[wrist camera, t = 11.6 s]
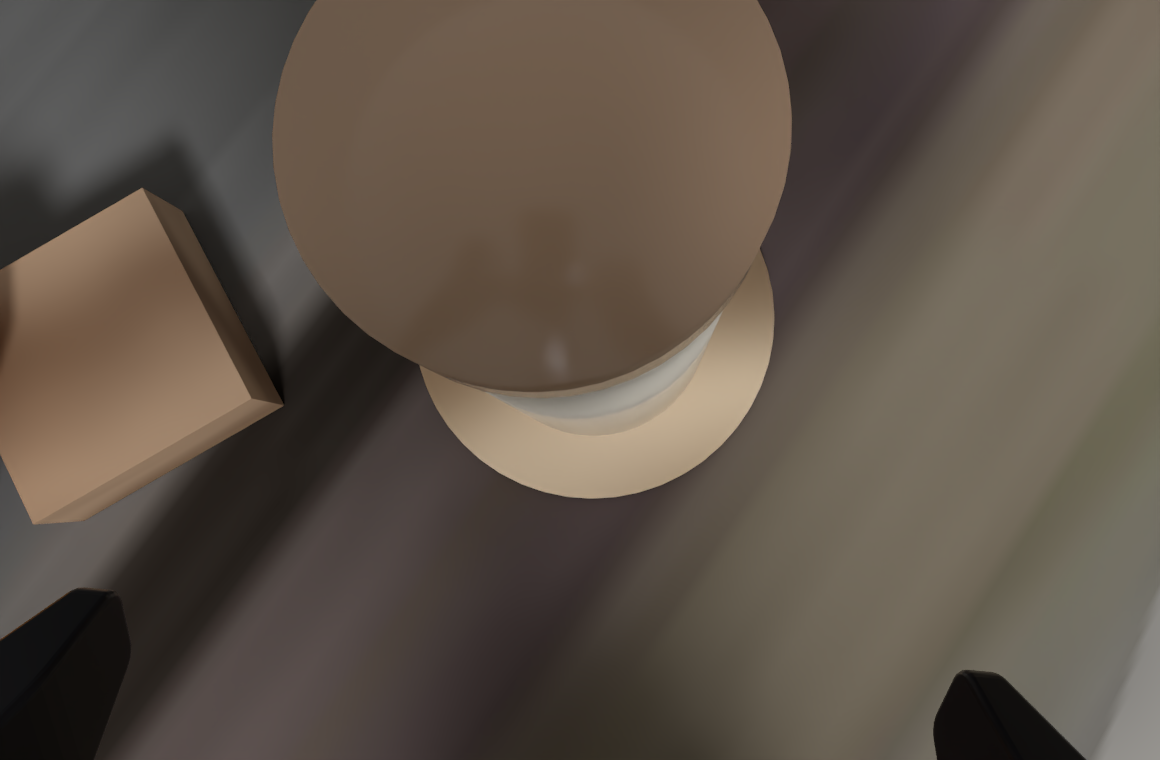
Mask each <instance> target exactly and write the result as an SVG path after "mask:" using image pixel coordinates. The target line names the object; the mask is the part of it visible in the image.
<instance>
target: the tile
mask: <svg viewBox="0 0 1160 760" xmlns="http://www.w3.org/2000/svg"><path fill="white" fill-rule="evenodd" d="M282 406H284V404H283V402H282V400H281V398H280V396H279V395H278V393H277V391H276V389H275V387H274V385H273V383H272V381H271V379H270V377H269V375H268V374H267V372H266V370H265V368H264V366H263V364H262V362H261V360H260V358H259V356H258V354H257V353H256V351H255V349H254V347H253V345H252V343H251V341H250V339H249V337H248V335H247V333H246V331H245V330H244V328H243V326H242V324H241V322H240V320H239V318H238V316H237V314H236V312H235V310H234V309H233V307H232V305H231V303H230V301H229V299H228V297H227V295H226V293H225V291H224V289H223V288H222V286H221V284H220V282H219V280H218V278H217V276H216V274H215V272H214V270H213V268H212V267H211V265H210V263H209V261H208V259H207V257H206V255H205V253H204V251H203V249H202V247H201V246H200V244H199V242H198V240H197V238H196V236H195V234H194V232H193V230H192V228H191V226H190V225H189V223H188V221H187V219H186V217H185V215H184V213H183V211H181V210H180V209H178V208H176V207H175V206H173V205H171V204H169V203H168V202H166V201H164V200H163V199H161V198H159V197H157V196H156V195H154V194H152V193H151V192H149V191H147V190H145V189H144V188H141V189H139V190H137V191H136V192H134V193H132V194H130V195H129V196H127V197H125V198H124V199H122V200H120V201H118V202H117V203H115V204H113V205H111V206H110V207H108V208H106V209H105V210H103V211H101V212H99V213H98V214H96V215H94V216H92V217H91V218H89V219H87V220H86V221H84V222H82V223H80V224H79V225H77V226H75V227H73V228H72V229H70V230H68V231H67V232H65V233H63V234H61V235H60V236H58V237H56V238H54V239H53V240H51V241H49V242H48V243H46V244H44V245H42V246H41V247H39V248H37V249H35V250H34V251H32V252H30V253H29V254H27V255H25V256H23V257H22V258H20V259H18V260H16V261H15V262H13V263H11V264H10V265H8V266H6V267H4V268H3V269H1V270H0V455H1V457H2V459H3V461H4V463H5V465H6V468H7V470H8V472H9V474H10V476H11V478H12V480H13V482H14V484H15V487H16V489H17V491H18V493H19V495H20V497H21V499H22V501H23V503H24V505H25V508H26V510H27V512H28V514H29V516H30V518H31V520H32V522H33V524H46V523H60V522H75V521H85V520H86V519H88V518H90V517H91V516H93V515H95V514H97V513H98V512H100V511H102V510H104V509H105V508H107V507H109V506H111V505H112V504H114V503H116V502H117V501H119V500H121V499H123V498H124V497H126V496H128V495H130V494H131V493H133V492H135V491H137V490H138V489H140V488H142V487H144V486H145V485H147V484H149V483H150V482H152V481H154V480H156V479H157V478H159V477H161V476H163V475H164V474H166V473H168V472H170V471H171V470H173V469H175V468H177V467H178V466H180V465H182V464H183V463H185V462H187V461H189V460H190V459H192V458H194V457H196V456H197V455H199V454H201V453H203V452H204V451H206V450H208V449H209V448H211V447H213V446H215V445H216V444H218V443H220V442H222V441H223V440H225V439H227V438H229V437H230V436H232V435H234V434H236V433H237V432H239V431H241V430H242V429H244V428H246V427H248V426H249V425H251V424H253V423H255V422H256V421H258V420H260V419H262V418H263V417H265V416H267V415H268V414H270V413H272V412H274V411H275V410H277V409H279V408H281V407H282Z"/></svg>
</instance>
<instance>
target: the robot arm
mask: <svg viewBox="0 0 1160 760" xmlns="http://www.w3.org/2000/svg"><path fill="white" fill-rule="evenodd" d="M130 656H131V640H130V636H129V631H128V627H127V622H126V618H125V613H124V609H123V604H122V600H121V598H120V596H119V595H118V593H117V592H115V591H112V590H105V589H94V588H77V589H74V590H72V591H70V592H68V593H67V594H65V595H64V596H63V597H61V598H60V599H58V600H57V601H55V602H54V603H52V604H51V605H50V606H48V607H47V608H45V609H44V610H42V611H41V612H39V613H38V614H37V615H35V616H34V617H32V618H31V619H29V620H28V621H27V622H25V623H24V624H22V625H21V626H19V627H18V628H16V629H15V630H14V631H12V632H11V633H9V634H8V635H6V636H5V637H3V638H2V639H1V640H0V760H94V759H95V757H96V754H97V751H98V748H99V745H100V743H101V740H102V737H103V734H104V732H105V729H106V726H107V723H108V721H109V718H110V715H111V712H112V710H113V707H114V704H115V701H116V699H117V696H118V693H119V690H120V688H121V685H122V682H123V679H124V676H125V674H126V671H127V668H128V665H129V661H130ZM933 736H934V744H935V750H936V756H937V760H1086V759H1085V758H1084V757H1083V756H1082V755H1081V754H1080V753H1079V752H1078V751H1077V750H1076V749H1075V748H1074V747H1073V746H1072V745H1071V744H1070V743H1069V742H1068V741H1067V740H1066V739H1065V738H1064V737H1063V736H1062V735H1061V734H1060V733H1059V732H1058V731H1057V730H1056V729H1055V728H1054V727H1053V726H1052V725H1051V724H1050V723H1049V722H1048V721H1047V720H1046V719H1045V718H1044V717H1043V716H1042V715H1041V714H1040V713H1039V712H1038V711H1037V710H1036V709H1035V708H1034V707H1033V706H1032V705H1031V704H1030V703H1029V702H1028V701H1027V700H1026V699H1025V698H1024V697H1023V696H1022V695H1021V694H1020V693H1019V692H1018V691H1017V690H1016V689H1015V688H1014V687H1013V686H1012V685H1011V684H1010V683H1009V682H1008V681H1007V680H1006V679H1005V678H1003V677H1002V676H1000V675H999V674H996V673H993V672H984V671H974V670H962V671H960V672H959V673H958V674H956V676H955V677H954V679H953V681H952V683H951V685H950V687H949V689H948V692H947V694H946V696H945V698H944V700H943V702H942V704H941V706H940V708H939V710H938V712H937V714H936V717H935V721H934V728H933Z"/></svg>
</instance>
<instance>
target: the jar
mask: <svg viewBox="0 0 1160 760" xmlns="http://www.w3.org/2000/svg"><path fill="white" fill-rule="evenodd" d="M791 130H792V112H791V102H790V93H789V83H788V79H787V75H786V71H785V67H784V63H783V59H782V55H781V51H780V48H779V46H778V43H777V41H776V38H775V36H774V33H773V31H772V28H771V26H770V23H769V21H768V19H767V17H766V15H765V13H764V12H763V10H762V8H761V6H760V5H759V3H758V1H757V0H316V2H315V3H314V5H313V6H312V8H311V9H310V11H309V12H308V14H307V16H306V18H305V20H304V22H303V24H302V26H301V28H300V29H299V31H298V33H297V35H296V37H295V39H294V41H293V44H292V47H291V49H290V52H289V55H288V58H287V60H286V63H285V66H284V68H283V71H282V76H281V80H280V84H279V89H278V93H277V97H276V102H275V111H274V122H273V133H272V141H273V167H274V173H275V179H276V185H277V190H278V196H279V201H280V204H281V207H282V210H283V213H284V217H285V220H286V223H287V226H288V229H289V232H290V234H291V236H292V238H293V240H294V242H295V244H296V246H297V249H298V251H299V253H300V255H301V257H302V259H303V261H304V262H305V264H306V265H307V267H308V268H309V270H310V272H311V273H312V275H313V276H314V278H315V279H316V281H317V282H318V284H319V285H320V287H321V288H322V289H323V290H324V291H325V293H326V294H327V295H328V296H329V297H330V298H331V300H332V301H333V302H334V303H335V304H336V305H337V306H338V308H339V309H340V310H341V311H342V312H343V313H344V314H345V315H346V316H347V317H349V318H350V319H351V320H352V321H353V322H354V323H355V324H357V325H358V326H359V327H360V328H361V329H362V330H363V331H365V332H366V333H367V334H368V335H370V336H371V337H373V338H374V339H376V340H377V341H379V342H380V343H382V344H383V345H385V346H386V347H388V348H389V349H391V350H392V351H394V352H395V353H397V354H399V355H401V356H403V357H405V358H407V359H409V360H411V361H413V362H415V363H417V364H419V365H421V366H423V367H425V368H426V369H429V370H431V371H433V372H435V373H437V374H439V375H441V376H443V377H445V378H447V379H449V380H451V381H453V382H456V383H459V384H462V385H465V386H468V387H471V388H474V389H477V390H481V391H484V392H486V393H488V394H490V395H492V396H493V397H495V398H497V399H499V400H501V401H502V402H504V403H506V404H508V405H510V406H511V407H513V408H515V409H517V410H519V411H520V412H522V413H524V414H526V415H528V416H529V417H531V418H533V419H535V420H537V421H538V422H540V423H543V424H545V425H547V426H549V427H551V428H554V429H557V430H560V431H563V432H566V433H571V434H577V435H588V436H600V435H611V434H615V433H620V432H625V431H627V430H630V429H633V428H636V427H639V426H641V425H643V424H645V423H647V422H649V421H650V420H652V419H654V418H655V417H657V416H658V415H660V414H661V413H662V412H664V411H665V410H666V409H667V408H668V407H669V406H671V405H672V404H673V403H674V402H675V401H676V400H677V399H678V397H679V396H680V395H681V394H682V393H683V392H684V390H685V389H686V387H687V386H688V384H689V383H690V381H691V380H692V378H693V376H694V374H695V372H696V370H697V368H698V366H699V363H700V361H701V359H702V357H703V354H704V352H705V350H706V348H707V345H708V343H709V341H710V338H711V336H712V334H713V332H714V329H715V327H716V325H717V323H718V320H719V318H720V316H721V314H722V311H723V310H724V309H725V307H726V306H727V305H728V304H729V302H730V301H731V299H732V298H733V296H734V295H735V293H736V292H737V290H738V288H739V287H740V285H741V284H742V282H743V281H744V279H745V277H746V275H747V273H748V271H749V269H750V267H751V265H752V263H753V261H754V259H755V257H756V255H757V253H758V250H759V248H760V246H761V244H762V242H763V240H764V238H765V236H766V234H767V231H768V229H769V227H770V225H771V223H772V221H773V219H774V217H775V214H776V210H777V207H778V204H779V201H780V198H781V195H782V192H783V188H784V185H785V181H786V175H787V169H788V163H789V158H790V152H791Z"/></svg>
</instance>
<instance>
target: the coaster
mask: <svg viewBox="0 0 1160 760" xmlns="http://www.w3.org/2000/svg"><path fill="white" fill-rule="evenodd" d="M773 333H774V305H773V293H772V288H771V284H770V279H769V274H768V270H767V267H766V264H765V261H764V259H763V256H762V253H761V251H760V248H759V250H758V253H757V255H756V257H755V259H754V261H753V263H752V265H751V267H750V269H749V271H748V273H747V275H746V277H745V279H744V281H743V282H742V284H741V285H740V287H739V288H738V290H737V292H736V293H735V295H734V296H733V298H732V299H731V301H730V302H729V304H728V305H727V306H726V307H725V309H724V310H723V311H722V314H721V316H720V318H719V320H718V323H717V325H716V327H715V329H714V332H713V334H712V336H711V338H710V341H709V343H708V345H707V348H706V350H705V352H704V354H703V357H702V359H701V361H700V363H699V366H698V368H697V370H696V372H695V374H694V376H693V378H692V380H691V381H690V383H689V384H688V386H687V387H686V389H685V390H684V392H683V393H682V394H681V395H680V396H679V397H678V399H677V400H676V401H675V402H674V403H673V404H672V405H671V406H669V407H668V408H667V409H666V410H665V411H664V412H662V413H661V414H660V415H658V416H657V417H655V418H654V419H652V420H650V421H649V422H647V423H645V424H643V425H641V426H639V427H636V428H633V429H630V430H627V431H625V432H620V433H615V434H611V435H600V436H588V435H577V434H571V433H566V432H563V431H560V430H557V429H554V428H551V427H549V426H547V425H545V424H543V423H540V422H538V421H537V420H535V419H533V418H531V417H529V416H528V415H526V414H524V413H522V412H520V411H519V410H517V409H515V408H513V407H511V406H510V405H508V404H506V403H504V402H502V401H501V400H499V399H497V398H495V397H493V396H492V395H490V394H488V393H486V392H484V391H481V390H477V389H474V388H471V387H468V386H465V385H462V384H459V383H456V382H453V381H451V380H449V379H447V378H445V377H443V376H441V375H439V374H437V373H435V372H433V371H431V370H429V369H426V368H425V367H423V366H421V365H420V369H421V372H422V375H423V378H424V381H425V385H426V387H427V389H428V391H429V394H430V396H431V398H432V400H433V402H434V404H435V406H436V408H437V410H438V411H439V413H440V414H441V416H442V418H443V419H444V421H445V422H446V424H447V425H448V427H449V428H450V429H451V430H452V432H453V433H454V434H455V435H456V436H457V437H458V439H459V440H460V441H461V442H462V443H463V444H464V445H465V446H466V447H467V448H468V449H469V450H470V451H471V452H472V453H473V454H475V455H476V456H477V457H478V458H479V459H480V460H481V461H483V462H484V463H486V464H487V465H489V466H490V467H492V468H493V469H494V470H496V471H497V472H499V473H500V474H502V475H504V476H506V477H508V478H510V479H512V480H514V481H516V482H518V483H520V484H522V485H525V486H528V487H531V488H534V489H536V490H539V491H542V492H546V493H551V494H556V495H560V496H565V497H575V498H589V499H593V498H610V497H619V496H624V495H629V494H634V493H639V492H642V491H645V490H648V489H651V488H654V487H657V486H660V485H663V484H665V483H667V482H669V481H671V480H673V479H675V478H677V477H679V476H681V475H683V474H685V473H686V472H688V471H689V470H691V469H692V468H694V467H695V466H697V465H698V464H700V463H701V462H703V461H704V460H705V459H706V458H707V457H709V456H710V455H711V454H712V453H713V452H714V451H715V450H717V449H718V448H719V447H720V446H721V445H722V444H723V443H724V442H725V441H726V440H727V438H728V437H729V436H730V435H731V434H732V433H733V432H734V430H735V429H736V428H737V427H738V425H739V424H740V422H741V421H742V419H743V418H744V416H745V415H746V413H747V412H748V410H749V409H750V407H751V406H752V403H753V401H754V399H755V397H756V395H757V393H758V391H759V389H760V387H761V385H762V382H763V379H764V376H765V373H766V370H767V367H768V364H769V359H770V354H771V348H772V343H773Z"/></svg>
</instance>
